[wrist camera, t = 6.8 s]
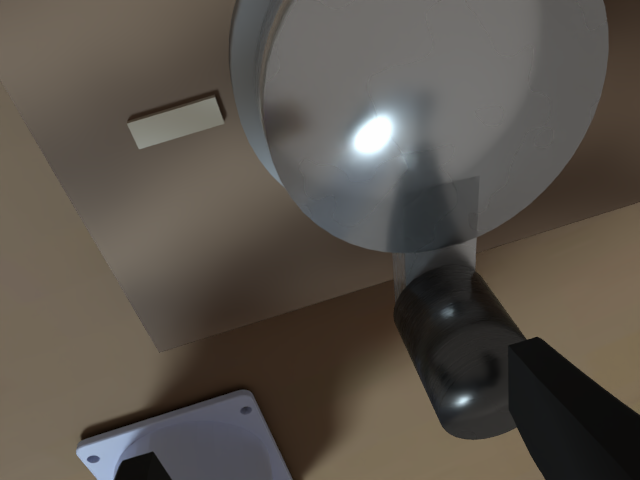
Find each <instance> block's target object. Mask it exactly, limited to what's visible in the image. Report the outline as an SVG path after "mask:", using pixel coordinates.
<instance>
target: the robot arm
mask: <svg viewBox="0 0 640 480" xmlns="http://www.w3.org/2000/svg"><path fill="white" fill-rule="evenodd" d="M243 407H245V408H243ZM508 408H509V411H510V413H511V416H512V418H513V420H514V422H515V424H516V426H517V428H518V430H519V432H520V435H521V437H522V439H523V441H524V443H525V445H526V447H527V449H528V451H529V453H530V455H531V457H532V458H533V460H534V462H535V463H536V465H537V467H538V468H539V470H540V471H541V473H542V475H543V476H544V478H545V479H546V480H640V415H639V414H638V413H636V412H635V411H633V410H632V409H631V408H629V407H628V406H626V405H625V404H624V403H622V402H621V401H620V400H618V399H617V398H616V397H614V396H613V395H612V394H610V393H609V392H608V391H606V390H605V389H604V388H602V387H601V386H600V385H598V384H597V383H596V382H595V381H593V380H592V379H591V378H589V377H588V376H587V375H586V374H584V373H583V372H582V371H580V370H579V369H578V368H577V367H575V366H574V365H573V364H572V363H570V362H569V361H568V360H567V359H566V358H564V357H563V356H562V355H561V354H559V353H558V352H557V351H556V350H554V349H553V348H552V347H551V346H550V345H548V344H547V343H546V342H545V341H544V340H542V339H541V338H539V337H535V338H532V339H528V340H525V341H521V342H518V343H515V344H511V345H508ZM76 454H77V456H78V457H79V458H80V459H81V460H82V462H83V463H84V464H85V465H86V466H87V468H88V469H89V470H90V471H91V472H92V474H93V475H94V476H95V477H96V478H97V479H98V480H293V479H292V477H291V474H290V472H289V470H288V468H287V466H286V464H285V462H284V460H283V457H282V455H281V453H280V451H279V449H278V447H277V445H276V442H275V440H274V438H273V436H272V434H271V432H270V430H269V428H268V425H267V423H266V421H265V419H264V417H263V415H262V413H261V411H260V408H259V406H258V404H257V402H256V400H255V398H254V396H253V394H252V393H251V392H250V391H248V390H238V391H235V392H232V393H228V394H225V395H222V396H219V397H216V398H213V399H210V400H206V401H203V402H200V403H197V404H194V405H191V406H188V407H184V408H181V409H178V410H175V411H172V412H169V413H165V414H162V415H159V416H156V417H153V418H150V419H147V420H143V421H140V422H137V423H134V424H131V425H128V426H124V427H121V428H118V429H115V430H112V431H109V432H106V433H102V434H99V435H96V436H93V437H90V438H87V439H84V440H82V441H80V442H79V443H78V445H77V450H76Z"/></svg>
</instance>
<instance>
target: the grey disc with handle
mask: <svg viewBox="0 0 640 480" xmlns="http://www.w3.org/2000/svg"><path fill="white" fill-rule="evenodd" d="M608 53H609V41H608V23H607V16H606V9H605V5H604V1H603V0H271V2H270V4H269V6H268V9H267V11H266V14H265V16H264V19H263V22H262V26H261V29H260V33H259V37H258V40H257V46H256V54H255V61H254V90H255V98H256V106H257V109H258V113H259V117H260V121H261V124H262V128H263V131H264V135H265V138H266V142H267V145H268V148H269V152H270V155H271V159H272V162H273V164H274V167H275V169H276V171H277V174H278V176H279V178H280V181H281V182H282V184H283V186H284V187H285V189H286V191H287V192H288V194H289V195H290V197H291V198H292V200H293V201H294V202H295V203H296V204H297V206H298V207H299V208H300V209H301V210H302V212H303V213H304V214H305V215H307V216H308V217H309V218H310V219H311V220H312V221H313V222H314V223H316V224H317V225H318V226H319V227H321V228H323V229H324V230H326V231H327V232H329V233H330V234H332V235H333V236H335V237H337V238H339V239H342V240H344V241H346V242H348V243H350V244H353V245H356V246H360V247H363V248H366V249H370V250H376V251H381V252H390V253H392V256H393V273H394V290H395V307H394V321H395V324H396V327H397V329H398V331H399V333H400V336H401V338H402V340H403V342H404V344H405V346H406V349H407V351H408V353H409V355H410V357H411V360H412V362H413V364H414V366H415V368H416V371H417V373H418V375H419V377H420V379H421V381H422V384H423V386H424V388H425V390H426V392H427V395H428V397H429V399H430V401H431V403H432V406H433V408H434V410H435V412H436V414H437V417H438V419H439V421H440V423H441V425H442V427H443V428H444V429H445V430H446V431H447V432H448V433H449V434H451V435H453V436H455V437H458V438H462V439H471V440H475V439H485V438H490V437H494V436H498V435H501V434H503V433H506V432H508V431H510V430H512V429H514V428H516V427H517V426H516V424H515V422H514V420H513V418H512V416H511V413H510V411H509V408H508V345H511V344H515V343H518V342H521V341H525V340H527V339H526V338H525V337H524V335H523V334H522V332H521V331H520V330H519V328H518V327H517V325H516V324H515V323H514V321H513V320H512V318H511V317H510V316H509V314H508V313H507V312H506V310H505V309H504V307H503V306H502V305H501V303H500V302H499V300H498V299H497V298H496V296H495V295H494V293H493V292H492V291H491V289H490V288H489V287H488V285H487V284H486V282H485V281H484V280H483V278H482V277H481V276H480V275H479V274H478V273H477V272H475V262H476V241H477V237H479V236H481V235H483V234H485V233H487V232H489V231H491V230H493V229H495V228H496V227H498V226H500V225H501V224H503V223H504V222H506V221H508V220H509V219H511V218H512V217H514V216H515V215H516V214H518V213H519V212H520V211H522V210H523V209H524V208H525V207H527V206H528V205H529V204H531V203H532V202H533V201H534V200H535V199H536V198H537V197H538V196H539V195H540V194H541V193H542V192H543V191H545V190H546V188H547V187H548V186H549V185H550V184H551V183H552V182H553V181H554V179H555V178H556V177H557V176H558V175H559V174H560V173H561V171H562V170H563V169H564V167H565V166H566V164H567V163H568V162H569V160H570V159H571V158H572V156H573V155H574V153H575V151H576V150H577V148H578V146H579V145H580V143H581V141H582V140H583V138H584V136H585V134H586V132H587V130H588V128H589V126H590V123H591V121H592V119H593V117H594V114H595V111H596V109H597V106H598V103H599V100H600V97H601V94H602V89H603V85H604V81H605V76H606V70H607V61H608Z"/></svg>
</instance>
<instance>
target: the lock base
mask: <svg viewBox="0 0 640 480" xmlns="http://www.w3.org/2000/svg"><path fill="white" fill-rule="evenodd" d="M603 1H604V5H605V9H606V16H607V23H608V41H609V53H608V61H607V70H606V76H605V81H604V85H603V89H602V94H601V97H600V100H599V103H598V106H597V109H596V111H595V114H594V117H593V119H592V121H591V123H590V126H589V128H588V130H587V132H586V134H585V136H584V138H583V140H582V141H581V143H580V145H579V146H578V148H577V150H576V151H575V153H574V155H573V156H572V158H571V159H570V160H569V162H568V163H567V164H566V166H565V167H564V169H563V170H562V171H561V173H560V174H559V175H558V176H557V177H556V178H555V179H554V181H553V182H552V183H551V184H550V185H549V186H548V187H547V188H546V190H545V191H543V192H542V193H541V194H540V195H539V196H538V197H537V198H536V199H535V200H534V201H533V202H532V203H531V204H529V205H528V206H527V207H525V208H524V209H523V210H522V211H520V212H519V213H518V214H516V215H515V216H514V217H512V218H511V219H509V220H508V221H506V222H504V223H503V224H501V225H500V226H498V227H496V228H495V229H493V230H491V231H489V232H487V233H485V234H483V235H481V236H479V237H477V241H476V253H479V252H482V251H485V250H488V249H491V248H495V247H498V246H501V245H504V244H507V243H511V242H514V241H517V240H520V239H523V238H527V237H530V236H533V235H536V234H539V233H542V232H546V231H549V230H552V229H555V228H558V227H562V226H565V225H568V224H571V223H574V222H578V221H581V220H584V219H587V218H590V217H594V216H597V215H600V214H603V213H606V212H609V211H613V210H616V209H619V208H622V207H625V206H629V205H632V204H635V203H638V202H640V0H603ZM270 2H271V0H0V81H1V83H2V84H3V86H4V88H5V89H6V91H7V93H8V95H9V96H10V98H11V100H12V101H13V103H14V105H15V106H16V108H17V110H18V112H19V113H20V115H21V117H22V118H23V120H24V122H25V124H26V125H27V127H28V129H29V130H30V132H31V134H32V136H33V137H34V139H35V141H36V142H37V144H38V146H39V148H40V149H41V151H42V153H43V154H44V156H45V158H46V160H47V161H48V163H49V165H50V166H51V168H52V170H53V172H54V173H55V175H56V177H57V178H58V180H59V182H60V184H61V185H62V187H63V189H64V190H65V192H66V194H67V196H68V197H69V199H70V201H71V202H72V204H73V206H74V208H75V209H76V211H77V213H78V214H79V216H80V218H81V219H82V221H83V223H84V225H85V226H86V228H87V230H88V231H89V233H90V235H91V237H92V238H93V240H94V242H95V243H96V245H97V247H98V249H99V250H100V252H101V254H102V255H103V257H104V259H105V261H106V262H107V264H108V266H109V267H110V269H111V271H112V273H113V274H114V276H115V278H116V279H117V281H118V283H119V285H120V286H121V288H122V290H123V291H124V293H125V295H126V297H127V298H128V300H129V302H130V303H131V305H132V307H133V309H134V310H135V312H136V314H137V315H138V317H139V319H140V321H141V322H142V324H143V326H144V327H145V329H146V331H147V332H148V334H149V336H150V338H151V339H152V341H153V343H154V344H155V346H156V348H157V350H158V351H159V353H160V352H163V351H166V350H169V349H173V348H176V347H179V346H182V345H185V344H189V343H192V342H195V341H198V340H201V339H205V338H208V337H211V336H214V335H217V334H220V333H224V332H227V331H230V330H233V329H236V328H240V327H243V326H246V325H249V324H252V323H256V322H259V321H262V320H265V319H268V318H271V317H275V316H278V315H281V314H284V313H287V312H291V311H294V310H297V309H300V308H303V307H307V306H310V305H313V304H316V303H319V302H322V301H326V300H329V299H332V298H335V297H338V296H342V295H345V294H348V293H351V292H354V291H358V290H361V289H364V288H367V287H370V286H374V285H377V284H380V283H383V282H386V281H389V280H393V279H394V273H393V256H392V253H390V252H381V251H376V250H370V249H366V248H363V247H360V246H356V245H353V244H350V243H348V242H346V241H344V240H342V239H339V238H337V237H335V236H333V235H332V234H330V233H329V232H327V231H326V230H324V229H323V228H321V227H319V226H318V225H317V224H316V223H314V222H313V221H312V220H311V219H310V218H309V217H308V216H307V215H305V214H304V213H303V212H302V210H301V209H300V208H299V207H298V206H297V204H296V203H295V202H294V201H293V200H292V198H291V197H290V195H289V194H288V192H287V191H286V189H285V187H284V186H283V184H282V182H281V181H280V178H279V176H278V174H277V171H276V169H275V167H274V164H273V162H272V159H271V155H270V152H269V148H268V145H267V142H266V138H265V135H264V131H263V128H262V124H261V121H260V117H259V113H258V109H257V106H256V98H255V90H254V61H255V54H256V46H257V40H258V37H259V33H260V29H261V26H262V22H263V19H264V16H265V14H266V11H267V9H268V6H269V4H270Z"/></svg>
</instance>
